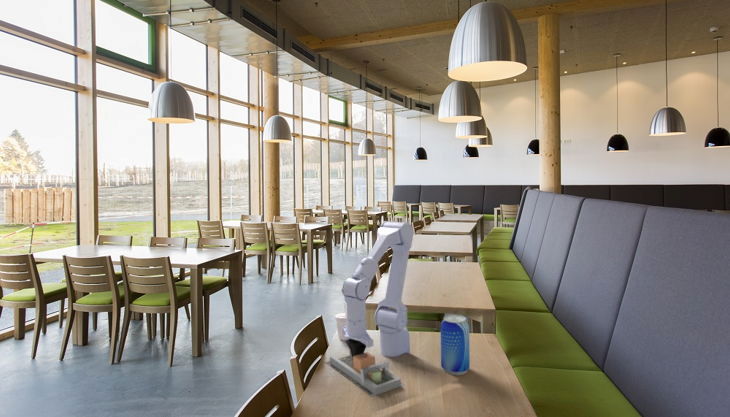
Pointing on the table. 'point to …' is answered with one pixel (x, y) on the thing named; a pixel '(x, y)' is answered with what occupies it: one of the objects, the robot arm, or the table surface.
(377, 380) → the pale green cube
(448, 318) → the beer can
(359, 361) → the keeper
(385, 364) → the gate
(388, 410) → the table surface
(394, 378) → the gray divided tray
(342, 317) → the smoothie
